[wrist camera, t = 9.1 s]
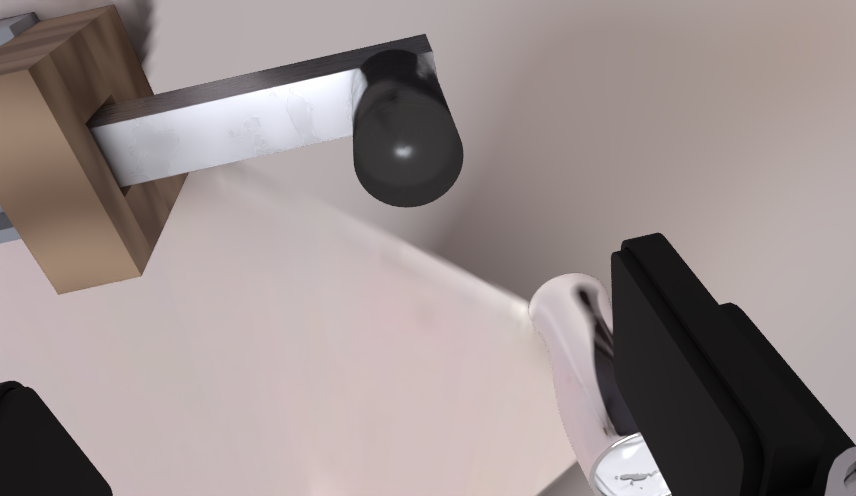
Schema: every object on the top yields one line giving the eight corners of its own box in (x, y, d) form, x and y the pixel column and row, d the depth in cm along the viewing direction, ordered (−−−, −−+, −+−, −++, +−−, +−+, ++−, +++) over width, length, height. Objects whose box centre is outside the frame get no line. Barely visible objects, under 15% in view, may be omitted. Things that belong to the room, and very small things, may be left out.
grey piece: (36, 110, 31) (-79, 214, 22) (423, 23, 30) (453, 94, 22) (77, 183, 33) (-14, 302, 25) (438, 102, 33) (471, 194, 24)
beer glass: (568, 352, 51) (642, 521, 38) (503, 316, 48) (559, 486, 36) (631, 293, 48) (732, 453, 36) (566, 251, 45) (650, 409, 33)
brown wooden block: (39, 21, 34) (-75, 92, 24) (113, 4, 34) (27, 69, 24) (125, 186, 39) (58, 294, 30) (188, 172, 39) (141, 276, 30)
